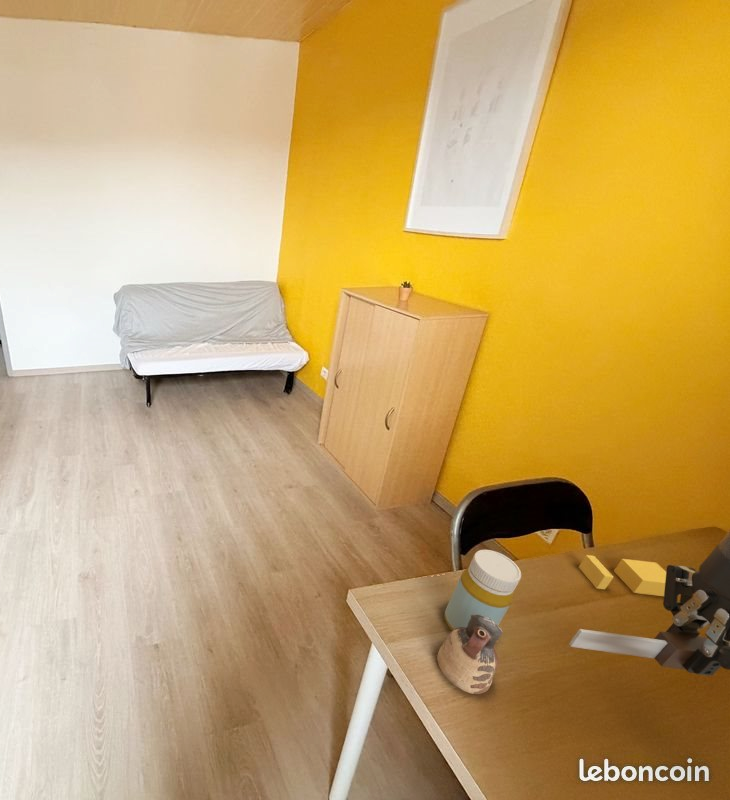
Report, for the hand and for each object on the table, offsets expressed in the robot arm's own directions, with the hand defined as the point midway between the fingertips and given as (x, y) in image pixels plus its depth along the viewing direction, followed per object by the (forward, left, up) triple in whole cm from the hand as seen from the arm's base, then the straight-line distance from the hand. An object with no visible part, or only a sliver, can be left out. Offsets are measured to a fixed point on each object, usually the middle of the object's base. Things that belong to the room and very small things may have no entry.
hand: (682, 658), depth 53 cm
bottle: (+18, -11, -13) cm, 25 cm away
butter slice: (-11, -25, -13) cm, 30 cm away
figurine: (+22, -3, -13) cm, 26 cm away
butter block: (-19, -25, -13) cm, 34 cm away
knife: (+5, 0, -1) cm, 5 cm away
